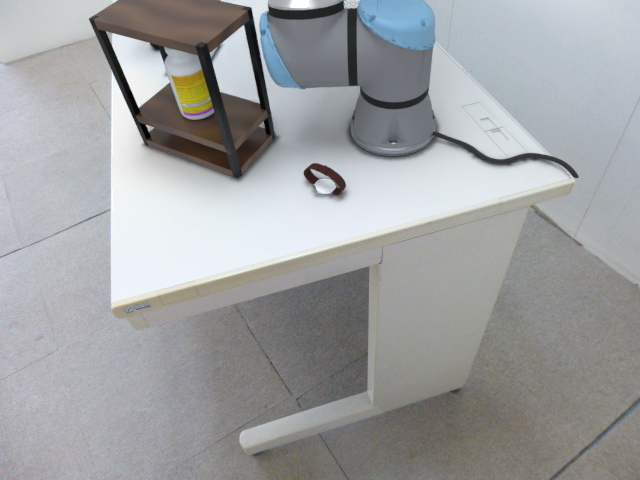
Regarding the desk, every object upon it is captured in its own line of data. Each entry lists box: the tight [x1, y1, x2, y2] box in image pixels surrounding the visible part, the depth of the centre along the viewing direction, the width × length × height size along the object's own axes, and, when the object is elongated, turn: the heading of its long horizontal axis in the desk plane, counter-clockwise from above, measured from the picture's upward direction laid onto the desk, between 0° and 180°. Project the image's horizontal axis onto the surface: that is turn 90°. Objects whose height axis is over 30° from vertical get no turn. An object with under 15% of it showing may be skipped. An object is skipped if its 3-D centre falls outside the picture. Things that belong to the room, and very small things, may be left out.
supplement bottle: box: [163, 47, 214, 120], centre depth 84 cm, size 7×7×13 cm
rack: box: [88, 0, 277, 180], centre depth 84 cm, size 12×22×24 cm, turn 60°
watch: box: [303, 162, 347, 196], centre depth 82 cm, size 8×5×4 cm
